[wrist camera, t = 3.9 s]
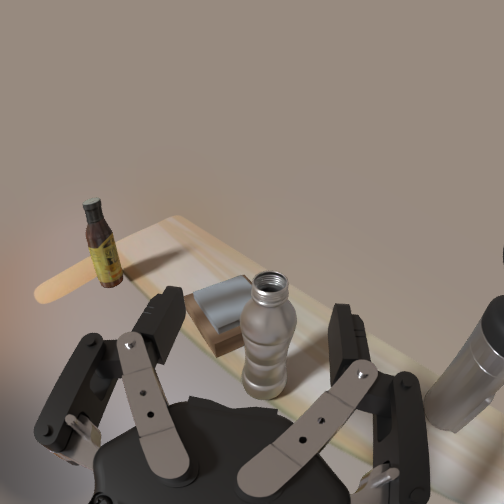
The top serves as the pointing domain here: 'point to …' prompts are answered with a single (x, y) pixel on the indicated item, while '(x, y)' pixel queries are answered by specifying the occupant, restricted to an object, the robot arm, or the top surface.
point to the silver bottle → (267, 335)
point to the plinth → (210, 333)
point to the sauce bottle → (102, 245)
